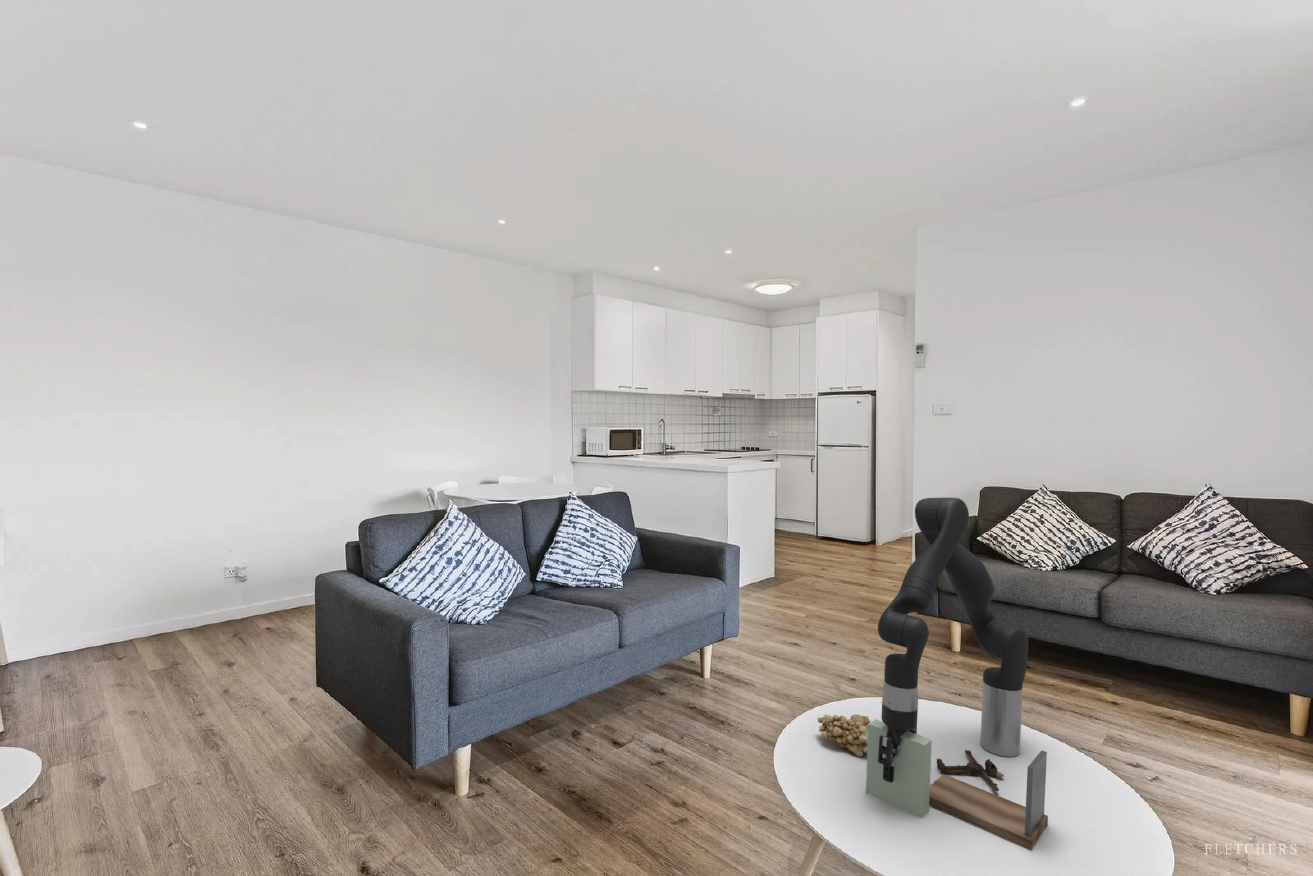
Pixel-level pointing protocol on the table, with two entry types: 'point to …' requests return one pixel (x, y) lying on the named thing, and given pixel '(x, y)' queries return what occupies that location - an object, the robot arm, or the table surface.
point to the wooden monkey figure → (972, 769)
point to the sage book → (901, 771)
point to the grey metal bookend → (1035, 793)
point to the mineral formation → (846, 731)
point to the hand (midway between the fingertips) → (896, 774)
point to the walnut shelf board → (984, 810)
